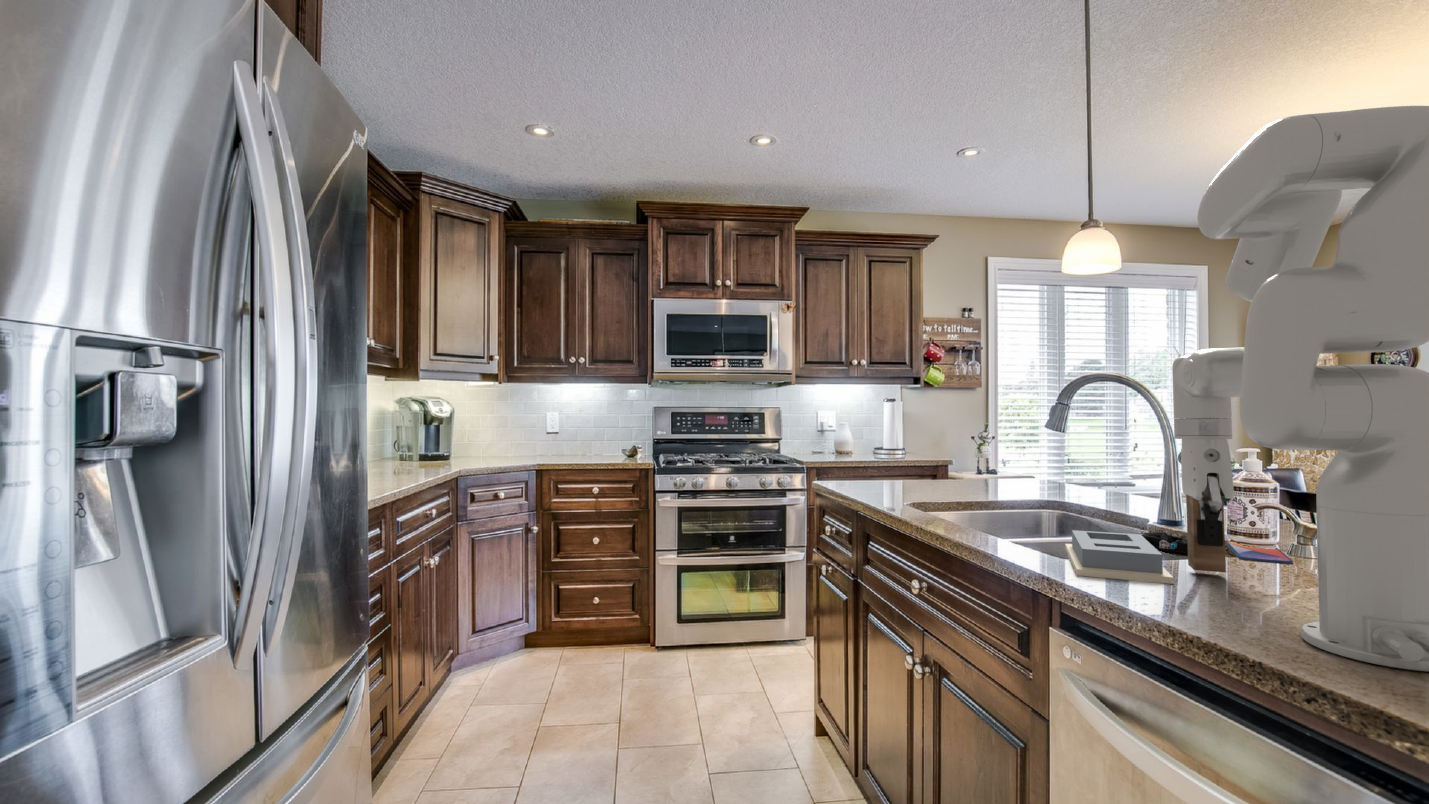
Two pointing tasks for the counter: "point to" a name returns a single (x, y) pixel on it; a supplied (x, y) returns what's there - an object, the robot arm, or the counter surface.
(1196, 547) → the block
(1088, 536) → the bore block
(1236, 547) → the smartphone
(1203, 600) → the counter surface
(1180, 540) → the toy car
